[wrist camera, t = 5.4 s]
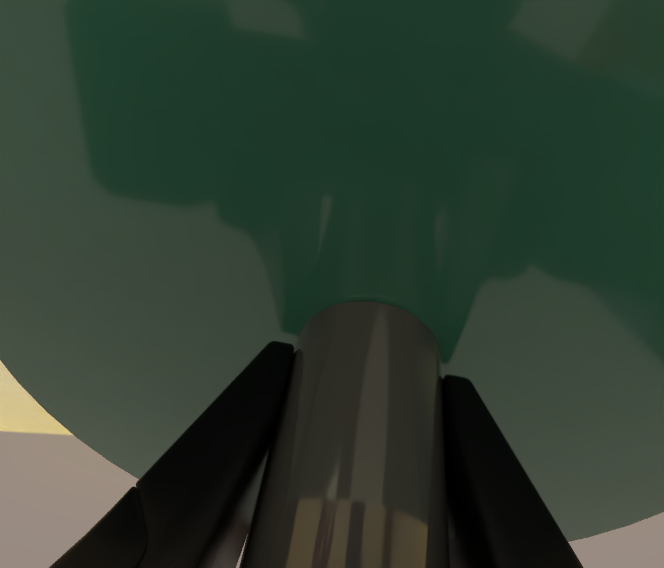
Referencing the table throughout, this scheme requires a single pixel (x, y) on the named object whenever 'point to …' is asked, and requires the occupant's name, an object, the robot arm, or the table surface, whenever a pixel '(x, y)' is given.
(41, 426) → the table surface
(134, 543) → the robot arm
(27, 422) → the table surface
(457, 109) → the pot lid
